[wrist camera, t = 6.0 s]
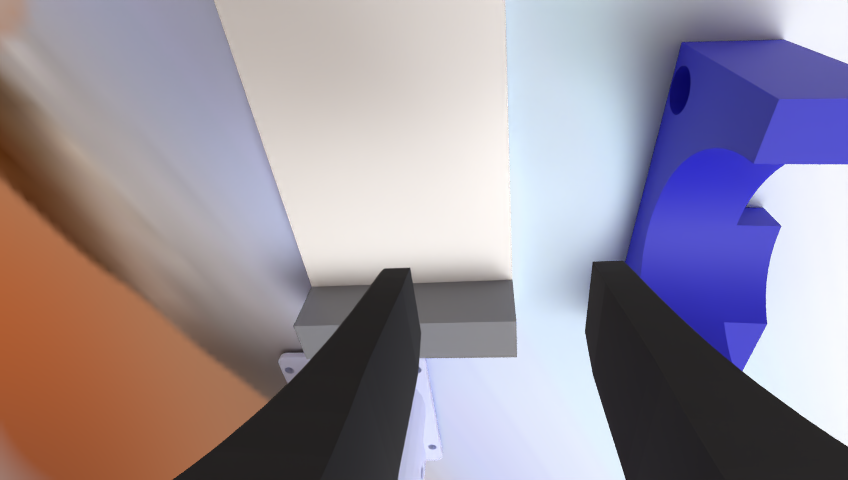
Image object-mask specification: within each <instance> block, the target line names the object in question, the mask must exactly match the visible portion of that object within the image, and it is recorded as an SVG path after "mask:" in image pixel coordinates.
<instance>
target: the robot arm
mask: <svg viewBox="0 0 848 480" xmlns="http://www.w3.org/2000/svg"><path fill="white" fill-rule="evenodd" d="M585 334H586V339H587V345H588V351H589V356H590V362H591V367H592V372H593V376H594V379H595V383H596V386H597V389H598V393H599V396H600V399H601V402H602V405H603V409H604V412H605V415H606V418H607V421H608V424H609V428H610V431H611V434H612V437H613V440H614V443H615V447H616V450H617V453H618V456H619V459H620V462H621V466H622V469H623V472H624V475H625V479H626V480H848V447H847V446H846V445H844V444H843V443H841V442H840V441H838V440H837V439H835V438H834V437H832V436H830V435H829V434H828V433H826V432H825V431H823V430H822V429H820V428H819V427H817V426H816V425H814V424H813V423H811V422H810V421H808V420H807V419H806V418H804V417H803V416H801V415H800V414H799V413H797V412H796V411H794V410H793V409H792V408H790V407H789V406H788V405H786V404H785V403H784V402H782V401H781V400H779V399H778V398H777V397H775V396H774V395H773V394H771V393H770V392H768V391H767V390H766V389H764V388H763V387H762V386H760V385H759V384H758V383H756V382H755V381H754V380H753V379H751V378H750V377H749V376H747V375H746V374H745V373H744V372H742V371H741V370H740V369H739V368H738V367H736V366H735V365H734V364H733V363H732V362H730V361H729V360H728V359H727V358H726V357H724V356H723V355H722V354H721V353H720V352H718V351H717V350H716V349H715V348H714V347H713V346H711V345H710V344H709V343H708V342H707V341H706V340H705V339H703V338H702V337H701V336H700V335H699V334H698V333H697V332H696V331H695V330H694V329H693V328H692V327H690V326H689V325H688V324H687V323H686V322H685V321H684V320H683V319H682V318H681V317H680V316H679V315H677V314H676V313H675V312H674V311H673V310H672V309H671V308H670V307H669V306H668V305H667V304H666V303H665V302H664V301H663V300H662V299H661V298H660V297H659V296H658V295H657V294H656V293H655V292H654V291H653V290H652V289H651V288H650V287H649V286H648V285H647V284H646V283H645V282H644V281H643V280H642V279H641V278H640V277H639V276H638V275H637V274H636V273H635V272H634V271H633V270H632V269H631V268H630V267H629V266H628V265H627V264H626V263H625V262H624V261H601V262H593V265H592V274H591V283H590V292H589V301H588V310H587V319H586V328H585ZM420 344H421V329H420V323H419V317H418V311H417V305H416V299H415V293H414V287H413V281H412V275H411V269H410V268H384V269H383V270H382V271H381V272H380V273H379V274H378V276H377V277H376V279H375V280H374V281H373V283H372V284H371V285H370V287H369V288H368V290H367V291H366V292H365V294H364V295H363V296H362V298H361V299H360V300H359V302H358V303H357V304H356V306H355V307H354V308H353V310H352V311H351V312H350V313H349V315H348V316H347V317H346V318H345V320H344V321H343V322H342V323H341V325H340V326H339V327H338V328H337V330H336V331H335V332H334V333H333V335H332V336H331V337H330V338H329V339H328V340H327V342H326V343H325V344H324V345H323V346H322V347H321V348H320V349H319V351H318V352H317V353H316V354H315V355H314V356H313V357H312V358H311V359H306V356H305V354H304V353H283V354H282V355H281V356H280V358H279V360H278V364H279V366H280V368H281V370H282V373H283V375H284V377H285V379H286V381H287V385H286V386H285V387H284V388H283V389H282V390H281V391H280V392H279V393H278V394H276V395H275V396H274V397H273V398H272V399H271V400H270V401H269V402H268V403H267V404H266V405H265V406H264V407H263V408H262V409H260V411H258V412H257V413H256V414H255V415H254V416H252V417H251V418H250V419H249V420H248V421H247V422H245V423H244V424H243V425H242V426H241V427H239V428H238V429H237V430H236V431H235V432H234V433H233V434H231V435H230V436H229V437H228V438H227V439H225V440H224V441H223V442H222V443H220V444H219V445H218V446H217V447H216V448H214V449H213V450H212V451H211V452H209V453H208V454H207V455H205V456H204V457H203V458H201V459H200V460H199V461H197V462H196V463H195V464H193V465H192V466H191V467H190V468H188V469H187V470H185V471H184V472H183V473H181V474H180V475H179V476H177V477H176V478H174V479H173V480H424V475H425V465H426V460H439V459H441V458H442V452H443V451H442V445H441V440H440V434H439V429H438V424H437V418H436V413H435V407H434V402H433V396H432V391H431V385H430V380H429V374H428V369H427V364H426V358H420Z"/></svg>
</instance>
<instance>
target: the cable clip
mask: <svg viewBox="0 0 848 480" xmlns="http://www.w3.org/2000/svg"><path fill="white" fill-rule="evenodd" d="M784 164H848V64H846V63H844V62H841V61H839V60H836V59H833V58H831V57H828V56H825V55H823V54H820V53H818V52H815V51H812V50H810V49H807V48H804V47H802V46H799V45H797V44H794V43H791V42H789V41H786V40H748V41H706V42H682V43H681V47H680V51H679V55H678V59H677V63H676V67H675V70H674V74H673V78H672V82H671V86H670V90H669V94H668V98H667V101H666V105H665V109H664V113H663V117H662V121H661V125H660V129H659V133H658V136H657V140H656V144H655V148H654V152H653V156H652V160H651V164H650V167H649V171H648V175H647V179H646V183H645V187H644V191H643V195H642V198H641V202H640V206H639V210H638V214H637V218H636V222H635V226H634V229H633V233H632V237H631V241H630V245H629V249H628V253H627V257H626V261H625V263H626V264H627V265H628V266H629V267H630V268H631V269H632V270H633V271H634V272H635V273H636V274H637V275H638V276H639V277H640V278H641V279H642V280H643V281H644V282H645V283H646V284H647V285H648V286H649V287H650V288H651V289H652V290H653V291H654V292H655V293H656V294H657V295H658V296H659V297H660V298H661V299H662V300H663V301H664V302H665V303H666V304H667V305H668V306H669V307H670V308H671V309H672V310H673V311H674V312H675V313H676V314H677V315H679V316H680V317H681V318H682V319H683V320H684V321H685V322H686V323H687V324H688V325H689V326H690V327H692V328H693V329H694V330H695V331H696V332H697V333H698V334H699V335H700V336H701V337H702V338H703V339H705V340H706V341H707V342H708V343H709V344H710V345H711V346H713V347H714V348H715V349H716V350H717V351H718V352H720V353H721V354H722V355H723V356H724V357H726V358H727V359H728V360H729V361H730V362H732V363H733V364H734V365H735V366H736V367H738V368H739V369H740V370H741V371H743V369H744V367H745V365H746V363H747V361H748V359H749V357H750V355H751V354H752V352H753V350H754V348H755V346H756V344H757V342H758V340H759V338H760V337H761V335H762V333H763V331H764V329H765V327H766V325H767V317H766V281H767V274H768V267H769V262H770V258H771V254H772V250H773V247H774V243H775V241H776V238H777V235H778V233H779V230H780V228H781V225H780V224H779V223H778V222H777V221H776V220H775V219H774V218H773V217H772V216H771V215H770V214H769V213H768V212H767V211H766V210H765V209H764V208H752V207H746V205H747V204H748V202H749V200H750V199H751V197H752V196H753V195H754V193H755V192H756V191H757V189H758V188H759V187H760V186H761V185H762V183H763V182H764V181H765V180H766V179H767V178H768V177H769V176H770V175H772V174H773V173H774V172H775V171H776V170H778V169H779V168H780V167H782V166H783V165H784Z"/></svg>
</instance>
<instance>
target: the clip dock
mask: <svg viewBox="0 0 848 480" xmlns="http://www.w3.org/2000/svg"><path fill="white" fill-rule="evenodd" d="M214 3H215V6H216V9H217V11H218V14H219V17H220V20H221V23H222V26H223V29H224V32H225V35H226V38H227V41H228V44H229V46H230V49H231V52H232V55H233V58H234V61H235V64H236V67H237V70H238V73H239V76H240V79H241V82H242V84H243V87H244V90H245V93H246V96H247V99H248V102H249V105H250V108H251V111H252V114H253V117H254V119H255V122H256V125H257V128H258V131H259V134H260V137H261V140H262V143H263V146H264V149H265V152H266V155H267V157H268V160H269V163H270V166H271V169H272V172H273V175H274V178H275V181H276V184H277V187H278V190H279V193H280V195H281V198H282V201H283V204H284V207H285V210H286V213H287V216H288V219H289V222H290V225H291V228H292V230H293V233H294V236H295V239H296V242H297V245H298V248H299V251H300V254H301V257H302V260H303V263H304V266H305V268H306V271H307V274H308V277H309V280H310V283H311V286H312V287H311V290H310V292H309V294H308V296H307V298H306V300H305V303H304V305H303V307H302V309H301V311H300V313H299V316H298V318H297V320H296V322H295V324H294V329H295V331H296V334H297V336H298V339H299V341H300V344H301V346H302V349H303V351H304V354H305V356H306V359H311V358H312V357H313V356H314V355H315V354H316V353H317V352H318V351H319V349H320V348H321V347H322V346H323V345H324V344H325V343H326V342H327V340H328V339H329V338H330V337H331V336H332V335H333V333H334V332H335V331H336V330H337V328H338V327H339V326H340V325H341V323H342V322H343V321H344V320H345V318H346V317H347V316H348V315H349V313H350V312H351V311H352V310H353V308H354V307H355V306H356V304H357V303H358V302H359V300H360V299H361V298H362V296H363V295H364V294H365V292H366V291H367V290H368V288H369V287H370V285H371V284H372V283H373V281H374V280H375V279H376V277H377V276H378V274H379V273H380V272H381V271H382V270H383V269H384V268H410V269H411V275H412V281H413V287H414V293H415V299H416V305H417V311H418V317H419V323H420V329H421V344H420V358H484V357H517V336H516V314H515V303H514V293H513V282H512V249H511V210H510V171H509V132H508V93H507V54H506V15H505V0H214Z"/></svg>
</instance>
